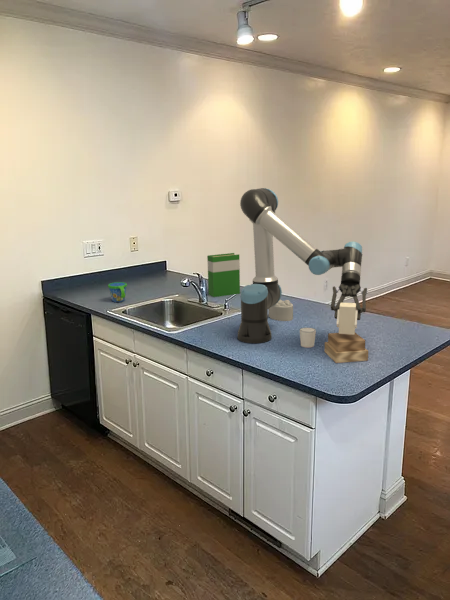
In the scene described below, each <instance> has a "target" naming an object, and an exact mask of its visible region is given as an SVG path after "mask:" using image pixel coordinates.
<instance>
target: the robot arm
mask: <svg viewBox="0 0 450 600" xmlns="http://www.w3.org/2000/svg"><path fill="white" fill-rule="evenodd" d="M239 203H240V204H239V205H240V209H241V211H242V213H243V215H244V216H246V217H247V218H248V219H249V221H250V222H251V223H252V230H253V247H254V248H253V251H254V269H255V276H254V278H253V279H252V283H251V284H248V285H245V286H244V287H242V288H241V289H240V308H241V309H240V317H241V318H240V319H241V321H240V324H239V328H238V330H237V340H238V341H240V342H242V343H248V344H262V343H267V342H269V341H271V340H272V330H271V328H270V325H269V321H268V319H269V308H270V307H272V306H274V305H276V304H277V303H278V301H279V300H281V297H282V293H283V292H282V287H281V285H279V278H278V277H277V276H276V275H275V258H274V238H275V239H276V240H278V241H279V242H280V243H281V244H282V245H283V246H285V247H286V248H287V249H288V250H289V251H290V252H292V254H294V255H295V256H297V258H299V259H300V260H301V261H302V262H304V264H306V265H307V266H308V270H309V272H310V273H311V274H313V275H314V276H315V275H316V276H321V275H323V274H326V273H327V272H329V270H331V269H333V268H341V277H340V285H339V286H332V296H331V297H332V298H331V302H330V311H334V319H335V320H336V328H339V307H340V303H344V301H345V299H346V297H347V298H348V297H350V298H353V302H354V303H356V313H355V329H357V328H358V321H360V320H361V315H362V313H366V311H367V307H366V306H367V305H366V304H367V303H366V301H367V300H366V299H367V298H366V296H367V294H368V288H367V287H365V288H363V287H361V274H362V273H361V272H362V263H363V246H362V245H361V243H359V242H357V241H348V242H347V243H345V244H344V247H343V248H339V249H329V250H319V249H318V248H317V247H316V246H315V245H314V244H312V243H311V242H310V241H308V239H306V237H304V236H303V235H301V234H300V232H298V231H297V230H296V229H295V228H294V227H292V226H291V225H290V224H289V223H287V222H286V221H285V220H284V219H283V218H281V217H280V216H279V215H278V214H276V210H277V209H278V206H279V199H278V196H277V194H276V193H275V191H273V190H272V189H270V188H266V187H264V188H263V187H260V188H252V189H249V190H247V191H245V192H244V193H243V194H242V196H241V198H240V202H239ZM273 237H274V238H273ZM339 291H340V293H341V294H340V296H339V299H338V301H337V303H336V300H337V293H339ZM359 292H360V293H361V294H362V298H361V299H362V305H360V301H359V298H358V294H359ZM361 306H362V307H361Z"/></svg>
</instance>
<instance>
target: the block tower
mask: <svg viewBox="0 0 450 600" xmlns="http://www.w3.org/2000/svg"><path fill="white" fill-rule="evenodd" d="M323 350H324V353H325V354H326V355H327V356H328V357H329V358H330V359H331V360H332V361H333V362H334V363H335V364H340V363H351V362H352V363H355V362H365V361H366V362H367V361H369V350H368V349H367V348H366V340H365V338H363V337H362V336H361V335H359V334H358V333H357V332H355V334H354V335H352V334H339V332H329V333H328V334H327V341H325V342H324V349H323Z"/></svg>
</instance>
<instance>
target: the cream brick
mask: <svg viewBox="0 0 450 600" xmlns="http://www.w3.org/2000/svg"><path fill="white" fill-rule="evenodd" d="M356 310H357V308H356V303H355V302H343V303H340V307H339V327H338V333H339V334H352V335H354V334H355V333H356V328H355V313H356Z"/></svg>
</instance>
